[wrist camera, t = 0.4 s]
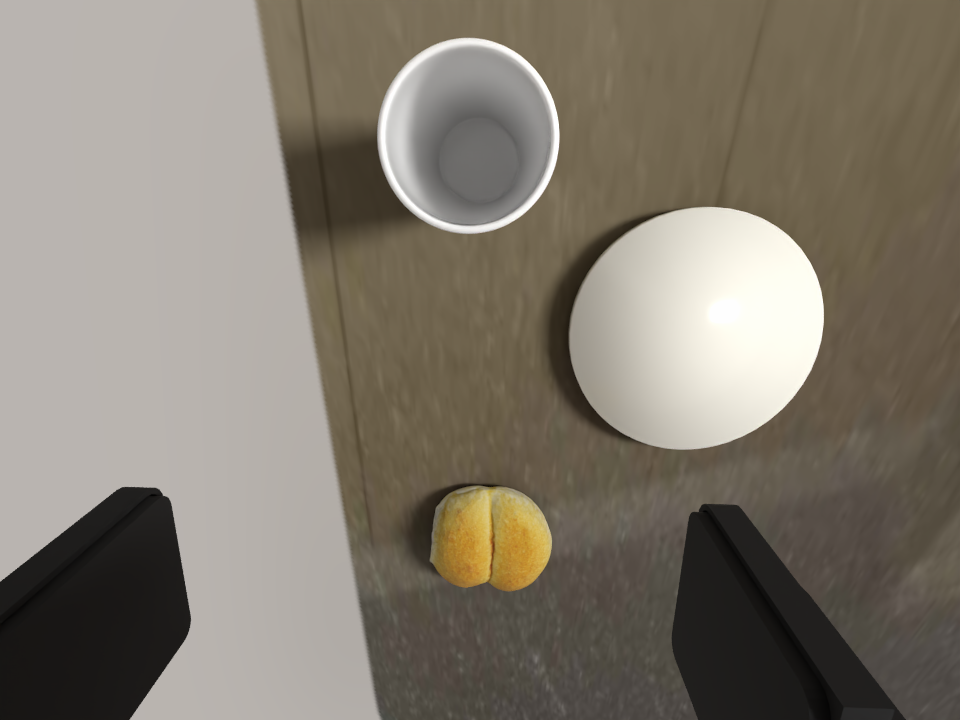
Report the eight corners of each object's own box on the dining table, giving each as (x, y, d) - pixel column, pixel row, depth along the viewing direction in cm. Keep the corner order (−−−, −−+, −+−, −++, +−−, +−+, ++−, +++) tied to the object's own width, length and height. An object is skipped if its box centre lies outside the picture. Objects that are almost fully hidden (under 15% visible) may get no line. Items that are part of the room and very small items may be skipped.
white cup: (472, 241, 35) (455, 273, 21) (403, 154, 34) (334, 125, 20) (556, 171, 34) (600, 155, 20) (488, 78, 33) (482, -14, 18)
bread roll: (542, 579, 43) (546, 617, 39) (428, 566, 43) (422, 603, 39) (558, 486, 41) (564, 517, 37) (438, 473, 41) (432, 502, 37)
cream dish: (575, 204, 35) (578, 204, 33) (832, 208, 34) (847, 209, 33) (560, 437, 39) (563, 446, 38) (787, 443, 39) (798, 452, 37)
